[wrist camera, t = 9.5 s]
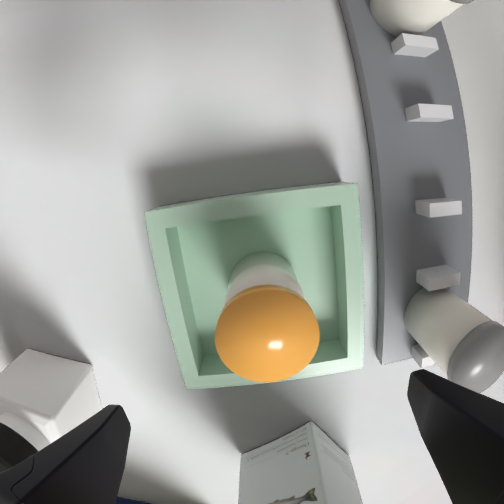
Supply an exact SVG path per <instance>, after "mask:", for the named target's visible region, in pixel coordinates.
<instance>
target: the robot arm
mask: <svg viewBox="0 0 504 504" xmlns="http://www.w3.org/2000/svg"><path fill="white" fill-rule="evenodd" d="M407 395H408V400H409V403H410V406H411V408H412V411H413V414H414V417H415V420H416V422H417V425H418V428H419V431H420V434H421V436H422V438H423V441H424V443H425V445H426V447H427V449H428V451H429V453H430V455H431V457H432V459H433V461H434V464H435V466H436V468H437V470H438V472H439V474H440V476H441V479H442V481H443V483H444V485H445V487H446V490H447V492H448V494H449V496H450V499H451V501H452V503H453V504H504V403H501V402H499V401H496V400H494V399H492V398H489V397H487V396H484V395H482V394H480V393H477V392H475V391H473V390H470V389H468V388H466V387H463V386H461V385H459V384H456V383H454V382H452V381H449V380H447V379H445V378H442V377H440V376H438V375H436V374H433V373H431V372H429V371H427V370H424V369H421V370H417V371H414V372H412V373H411V375H410V379H409V386H408V392H407ZM130 431H131V426H130V422H129V420H128V418H127V416H126V414H125V412H124V410H123V408H122V406H120V405H108V406H106V407H105V408H103V409H102V410H100V411H99V412H98V413H96V414H95V415H93V416H92V417H90V418H89V419H87V420H86V421H84V422H83V423H81V424H80V425H78V426H77V427H75V428H74V429H72V430H71V431H69V432H68V433H66V434H65V435H63V436H62V437H60V438H59V439H57V440H55V441H54V442H52V443H51V444H49V445H48V446H46V447H45V448H43V449H42V450H40V451H38V452H37V453H35V455H32V456H30V457H29V458H27V459H26V460H24V461H22V462H21V463H19V464H17V465H16V466H14V467H12V468H10V469H8V470H6V471H4V472H2V473H0V504H115V502H116V498H117V494H118V490H119V486H120V483H121V479H122V475H123V472H124V468H125V462H126V456H127V449H128V443H129V437H130Z"/></svg>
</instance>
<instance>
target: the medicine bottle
mask: <svg viewBox="0 0 504 504" xmlns="http://www.w3.org/2000/svg"><path fill="white" fill-rule="evenodd" d="M100 410H102V406H101V402H100V397H99V393H98V389H97V385H96V380H95V376H94V371H93V367H92V366H91V365H90V364H86V363H82V362H78V361H73V360H69V359H65V358H61V357H57V356H53V355H49V354H46V353H42V352H38V351H35V350H31V349H26V350H25V351H24V352H23V353H22V354H20V355H19V356H18V357H17V358H16V359H15V360H14V361H13V362H12V363H11V364H9V365H8V366H7V367H6V368H5V369H4V370H3V371H2V372H1V373H0V473H2V472H4V471H6V470H8V469H10V468H12V467H14V466H16V465H17V464H19V463H21V462H22V461H24V460H26V459H27V458H29V457H30V456H32V455H35V453H37V452H38V451H40V450H42V449H43V448H45V447H46V446H48V445H49V444H51V443H52V442H54V441H55V440H57V439H59V438H60V437H62V436H63V435H65V434H66V433H68V432H69V431H71V430H72V429H74V428H75V427H77V426H78V425H80V424H81V423H83V422H84V421H86V420H87V419H89V418H90V417H92V416H93V415H95V414H96V413H98V412H99V411H100Z"/></svg>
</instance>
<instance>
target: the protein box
mask: <svg viewBox="0 0 504 504" xmlns="http://www.w3.org/2000/svg"><path fill="white" fill-rule="evenodd" d="M115 504H149V503H144V502H139V501H133V500H129V499H124V498H119V497H117V498H116V502H115Z"/></svg>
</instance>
